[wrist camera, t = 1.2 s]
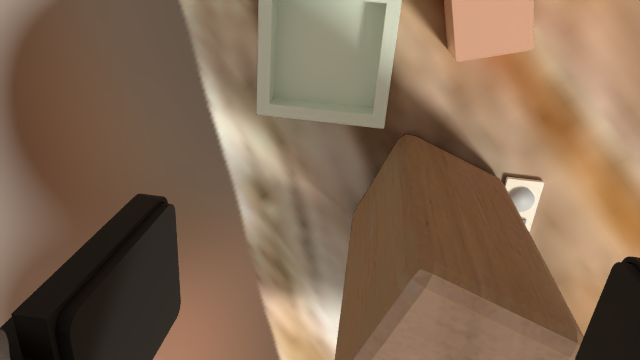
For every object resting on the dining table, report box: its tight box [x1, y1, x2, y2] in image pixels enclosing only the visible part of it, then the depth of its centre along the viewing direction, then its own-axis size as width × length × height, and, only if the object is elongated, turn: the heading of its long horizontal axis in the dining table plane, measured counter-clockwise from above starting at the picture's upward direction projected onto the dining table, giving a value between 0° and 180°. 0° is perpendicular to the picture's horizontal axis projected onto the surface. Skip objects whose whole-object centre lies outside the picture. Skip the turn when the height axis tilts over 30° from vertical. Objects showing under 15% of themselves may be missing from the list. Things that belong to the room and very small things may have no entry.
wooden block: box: [335, 134, 584, 360], centre depth 34 cm, size 10×10×20 cm
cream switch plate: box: [505, 177, 544, 232], centre depth 42 cm, size 6×3×1 cm, turn 176°
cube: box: [444, 0, 534, 62], centre depth 33 cm, size 5×5×5 cm
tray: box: [257, 0, 402, 129], centre depth 37 cm, size 10×10×3 cm
